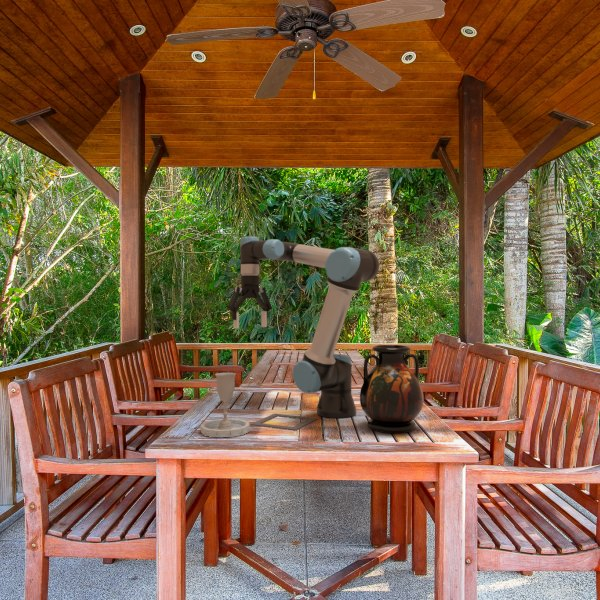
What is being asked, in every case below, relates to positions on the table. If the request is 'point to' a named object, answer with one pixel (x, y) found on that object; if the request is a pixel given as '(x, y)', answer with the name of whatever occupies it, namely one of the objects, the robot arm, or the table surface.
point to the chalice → (225, 395)
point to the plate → (212, 430)
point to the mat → (307, 421)
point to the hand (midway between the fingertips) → (250, 327)
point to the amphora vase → (391, 390)
